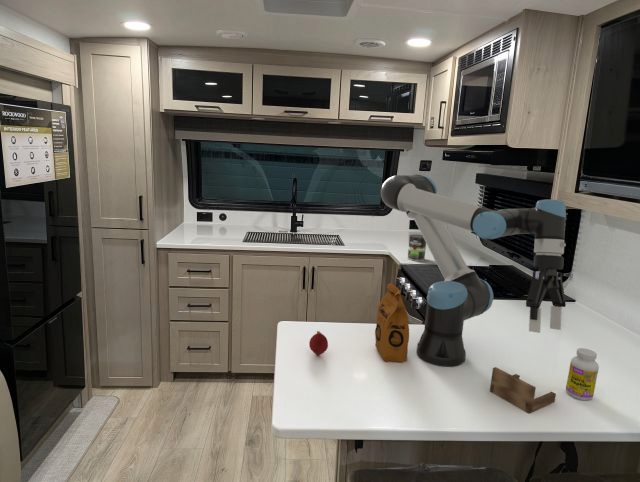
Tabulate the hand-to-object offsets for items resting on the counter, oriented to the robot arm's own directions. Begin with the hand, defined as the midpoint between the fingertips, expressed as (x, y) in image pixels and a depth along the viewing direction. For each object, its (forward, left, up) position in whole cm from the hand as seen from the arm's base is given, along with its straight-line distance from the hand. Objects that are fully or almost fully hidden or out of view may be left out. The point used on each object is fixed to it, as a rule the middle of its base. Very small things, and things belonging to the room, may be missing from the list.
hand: (545, 330), depth 126 cm
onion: (-44, -47, -16) cm, 66 cm away
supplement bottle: (+9, +5, -16) cm, 19 cm away
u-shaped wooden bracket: (+2, -10, -16) cm, 19 cm away
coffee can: (-126, +73, -16) cm, 146 cm away
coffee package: (-34, -26, -16) cm, 46 cm away
